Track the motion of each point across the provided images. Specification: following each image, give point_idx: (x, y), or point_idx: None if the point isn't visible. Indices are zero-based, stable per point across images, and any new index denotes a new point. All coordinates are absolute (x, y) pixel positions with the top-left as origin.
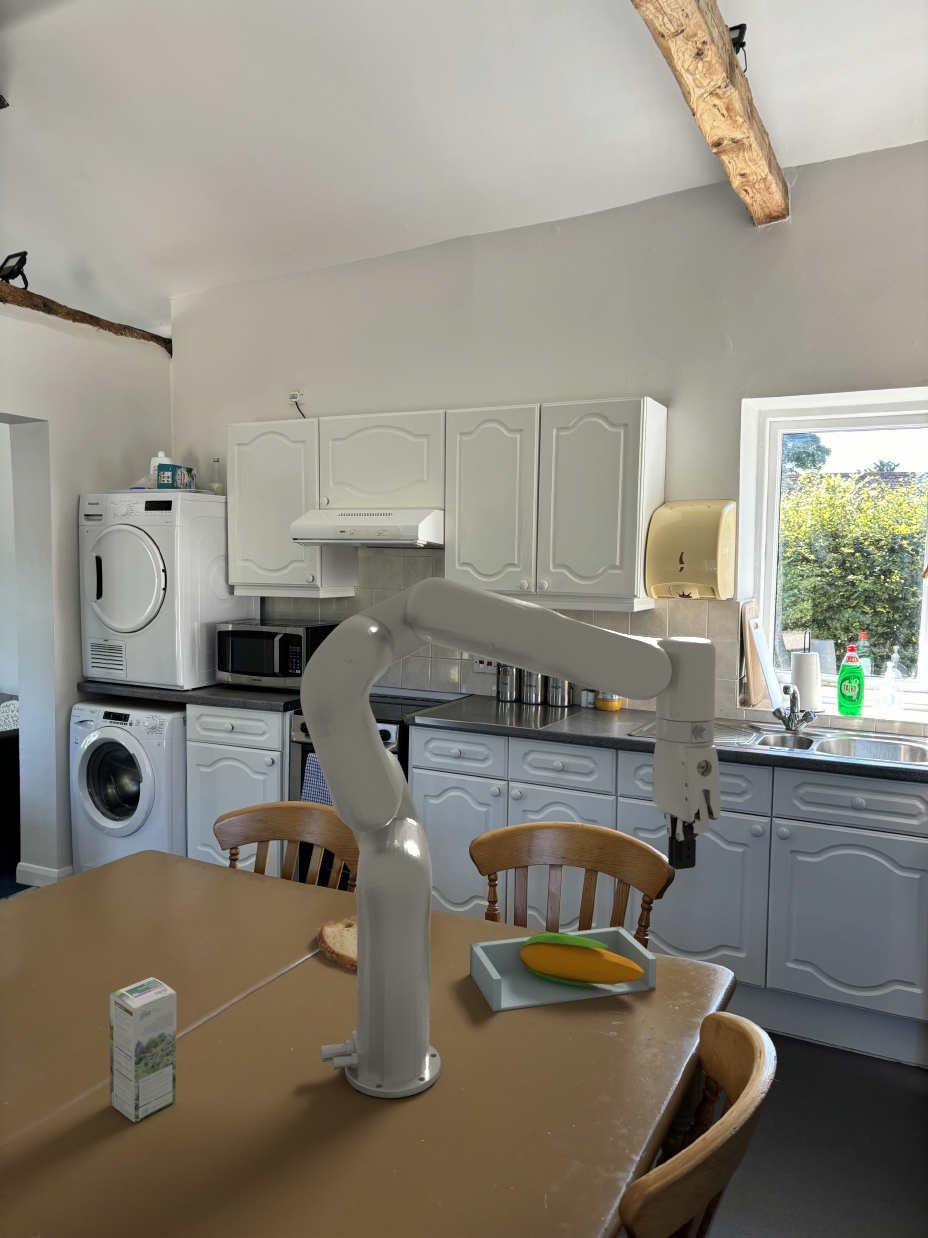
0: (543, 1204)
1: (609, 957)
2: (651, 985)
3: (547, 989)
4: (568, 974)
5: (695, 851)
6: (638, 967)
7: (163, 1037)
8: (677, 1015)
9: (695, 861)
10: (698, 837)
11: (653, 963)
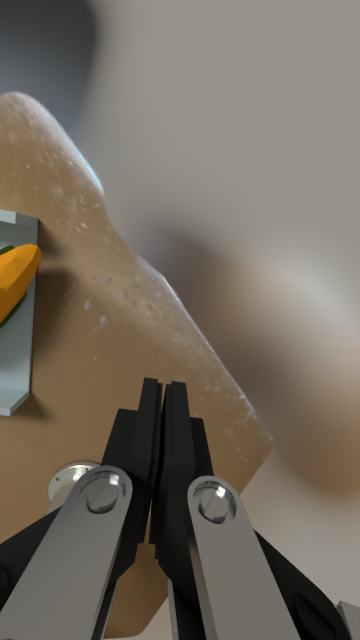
0: (245, 460)
1: (5, 282)
2: (35, 223)
3: (6, 334)
4: (2, 320)
5: (189, 416)
6: (28, 250)
7: None
8: (98, 236)
9: (186, 391)
10: (237, 494)
11: (19, 218)
